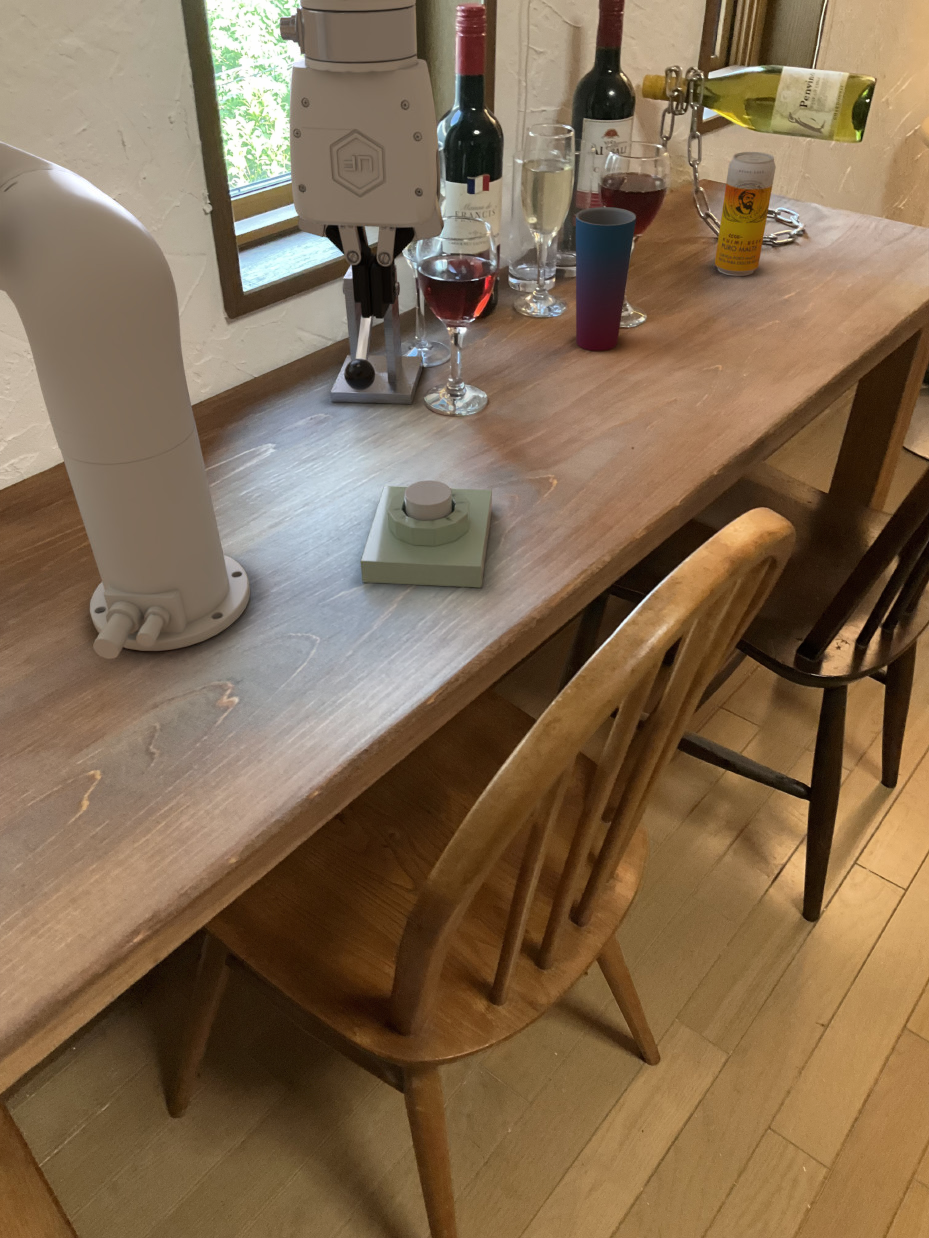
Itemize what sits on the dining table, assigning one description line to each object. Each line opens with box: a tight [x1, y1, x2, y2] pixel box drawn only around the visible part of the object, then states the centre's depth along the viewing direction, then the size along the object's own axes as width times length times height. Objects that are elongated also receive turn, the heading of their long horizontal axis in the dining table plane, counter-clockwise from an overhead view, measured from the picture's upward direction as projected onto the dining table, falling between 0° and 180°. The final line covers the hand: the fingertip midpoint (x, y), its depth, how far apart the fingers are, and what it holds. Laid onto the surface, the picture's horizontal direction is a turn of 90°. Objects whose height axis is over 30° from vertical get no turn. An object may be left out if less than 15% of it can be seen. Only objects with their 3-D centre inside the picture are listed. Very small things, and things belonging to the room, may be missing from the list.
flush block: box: [360, 485, 493, 588], centre depth 83 cm, size 12×10×4 cm
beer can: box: [714, 151, 777, 277], centre depth 133 cm, size 6×6×15 cm
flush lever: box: [344, 315, 375, 390], centre depth 101 cm, size 14×3×3 cm, turn 175°
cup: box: [575, 206, 637, 352], centre depth 113 cm, size 7×7×15 cm
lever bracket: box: [330, 264, 424, 405], centre depth 106 cm, size 10×9×13 cm
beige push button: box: [404, 480, 452, 521], centre depth 82 cm, size 4×4×2 cm
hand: (376, 311), depth 75 cm, fingers closed
